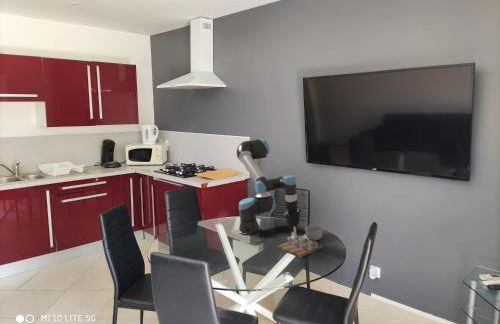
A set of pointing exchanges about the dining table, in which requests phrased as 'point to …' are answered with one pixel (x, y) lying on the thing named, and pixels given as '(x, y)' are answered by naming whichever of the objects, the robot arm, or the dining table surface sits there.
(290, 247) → the button board
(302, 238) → the button two
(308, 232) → the teacup
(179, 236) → the dining table surface
